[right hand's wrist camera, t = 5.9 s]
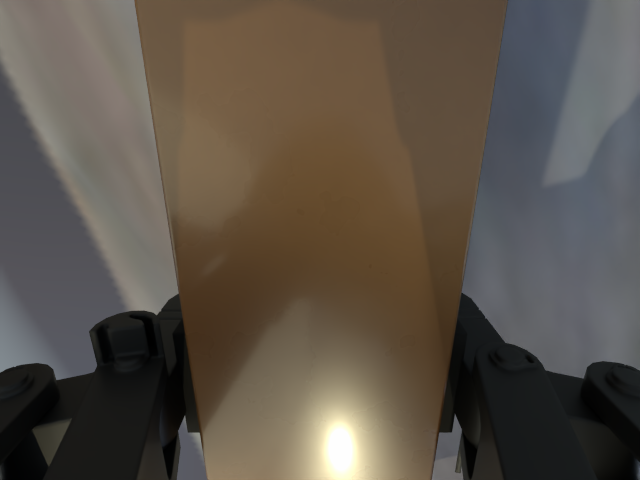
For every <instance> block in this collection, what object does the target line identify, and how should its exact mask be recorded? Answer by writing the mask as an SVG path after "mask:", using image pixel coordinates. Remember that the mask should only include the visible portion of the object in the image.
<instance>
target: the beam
mask: <svg viewBox="0 0 640 480" xmlns="http://www.w3.org/2000/svg"><path fill="white" fill-rule="evenodd" d="M507 3H508V0H135V7H136V14H137V20H138V27H139V33H140V40H141V47H142V53H143V60H144V66H145V73H146V80H147V86H148V93H149V99H150V106H151V113H152V119H153V126H154V132H155V139H156V146H157V152H158V159H159V165H160V172H161V179H162V185H163V192H164V198H165V205H166V212H167V218H168V225H169V231H170V238H171V245H172V251H173V258H174V264H175V271H176V278H177V284H178V291H179V297H180V304H181V311H182V317H183V324H184V330H185V337H186V344H187V350H188V357H189V363H190V370H191V377H192V383H193V390H194V396H195V403H196V410H197V416H198V423H199V429H200V436H201V443H202V449H203V456H204V462H205V469H206V476H207V480H432V473H433V467H434V461H435V455H436V448H437V442H438V436H439V430H440V423H441V417H442V411H443V404H444V398H445V392H446V386H447V379H448V373H449V367H450V361H451V354H452V348H453V342H454V335H455V329H456V323H457V317H458V310H459V304H460V298H461V292H462V285H463V279H464V273H465V266H466V260H467V254H468V248H469V241H470V235H471V229H472V223H473V216H474V210H475V204H476V197H477V191H478V185H479V179H480V172H481V166H482V160H483V153H484V147H485V141H486V135H487V128H488V122H489V116H490V110H491V103H492V97H493V91H494V84H495V78H496V72H497V66H498V59H499V53H500V47H501V41H502V34H503V28H504V22H505V15H506V9H507Z"/></svg>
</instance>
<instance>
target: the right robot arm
mask: <svg viewBox="0 0 640 480" xmlns="http://www.w3.org/2000/svg"><path fill="white" fill-rule="evenodd" d="M89 333H90V337H91V341H92V345H93V349H94V353H95V358H96V362H97V368H96V370H95V372H93V373H89V374H86V375H81V376H76V377H71V378H66V379H61V380H56V378H55V374H54V371H53V369H52V368H51V367H50V366H48V365H46V364H39V363H34V364H25V365H19V366H16V367H12V368H9V369H6V370H4V371H3V372H1V373H0V480H177V472H178V464H179V455H180V440H179V434H178V430H179V427H180V425H181V423H182V420H183V418H184V416H185V417H186V423H187V430H188V432H200V429H199V423H198V416H197V410H196V403H195V396H194V390H193V383H192V377H191V370H190V363H189V357H188V350H187V344H186V337H185V330H184V324H183V317H182V311H181V304H180V297H179V294H177V295H176V296H174V297H173V298H171V299H169V300H168V302H167V303H166V304H165V306H164V307H163V308H162V309H161V312H159V313H158V315H155V314H154V313H152V312H147V311H129V312H124V313H119V314H116V315H114V316H111V317H108V318H106V319H104V320H103V321H101V322H99V323H98V324H96V325H95V326H94V327H93V328H92V329H91V330H90V331H89ZM455 415H456V417H457V419H458V421H459V424H460V426H461V428H462V434H461V440H460V446H459V451H458V457H457V463H456V470H455V472H457V473H461V467H462V471H463V479H464V480H640V371H639V370H637V369H636V368H634V367H631V366H628V365H624V364H620V363H613V362H604V361H602V362H596V363H592V364H591V365H590V366H588V367H587V370H586V373H585V377H584V379H582V378H577V377H573V376H568V375H563V374H558V373H553V372H549V371H546V370H545V369H544V367H543V365H542V364H541V362H540V361H539V360H538V359H537V357H535V356H534V355H533V354H531V353H530V352H528V351H527V350H525V349H522V348H520V347H518V346H515V345H512V344H508V343H505V342H504V341H503V339H502V338H501V337H500V335H499V334H498V333H497V331H496V330H495V329H494V328H493V326H492V325H491V324H490V322H489V321H488V320H487V319H485V316H484V315H483V313H482V312H481V311H480V310H479V308H478V307H477V306H476V304H475V303H474V302H473V300H472V299H471V298H469V297H468V296H466V295H465V294H463V293H461V298H460V304H459V310H458V317H457V323H456V329H455V335H454V342H453V348H452V354H451V361H450V367H449V373H448V379H447V386H446V392H445V398H444V404H443V411H442V417H441V423H440V430H439V432H452V428H453V422H454V416H455Z"/></svg>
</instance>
